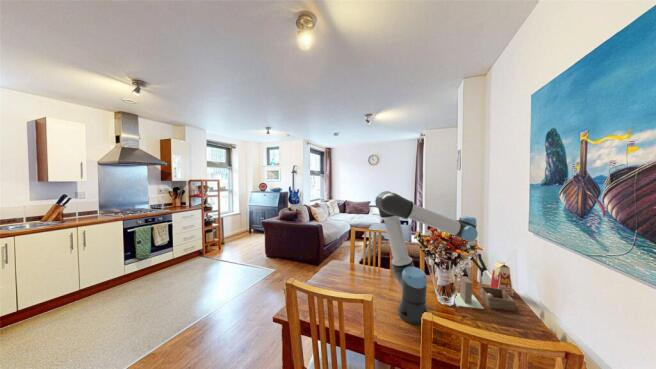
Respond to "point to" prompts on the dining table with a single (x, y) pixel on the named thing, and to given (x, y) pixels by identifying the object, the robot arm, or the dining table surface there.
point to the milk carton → (502, 278)
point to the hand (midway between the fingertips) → (465, 280)
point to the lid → (466, 295)
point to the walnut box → (497, 298)
